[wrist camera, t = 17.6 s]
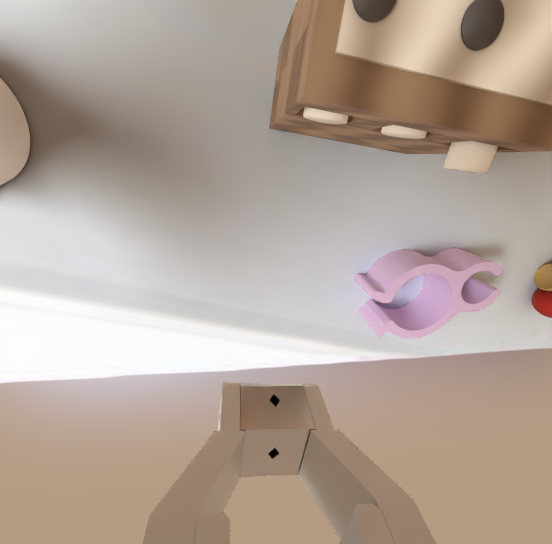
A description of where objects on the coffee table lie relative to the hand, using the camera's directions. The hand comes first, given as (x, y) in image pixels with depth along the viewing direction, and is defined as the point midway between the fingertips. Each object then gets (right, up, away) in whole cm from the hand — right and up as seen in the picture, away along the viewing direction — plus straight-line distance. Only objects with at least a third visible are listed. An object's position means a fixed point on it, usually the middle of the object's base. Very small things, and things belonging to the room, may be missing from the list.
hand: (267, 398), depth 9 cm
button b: (+18, +16, +18) cm, 30 cm away
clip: (+24, +3, +39) cm, 45 cm away
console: (+10, +25, +27) cm, 38 cm away
